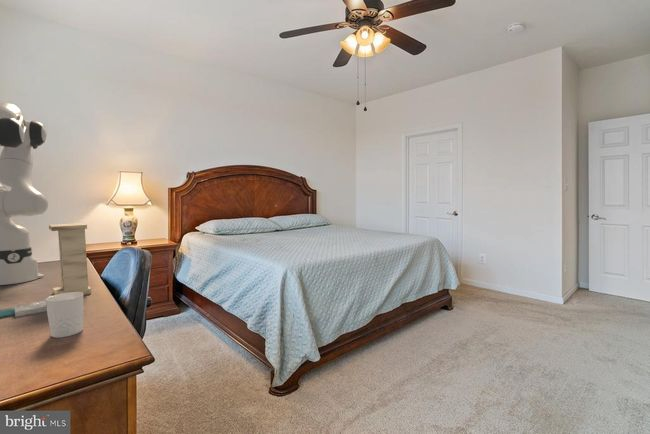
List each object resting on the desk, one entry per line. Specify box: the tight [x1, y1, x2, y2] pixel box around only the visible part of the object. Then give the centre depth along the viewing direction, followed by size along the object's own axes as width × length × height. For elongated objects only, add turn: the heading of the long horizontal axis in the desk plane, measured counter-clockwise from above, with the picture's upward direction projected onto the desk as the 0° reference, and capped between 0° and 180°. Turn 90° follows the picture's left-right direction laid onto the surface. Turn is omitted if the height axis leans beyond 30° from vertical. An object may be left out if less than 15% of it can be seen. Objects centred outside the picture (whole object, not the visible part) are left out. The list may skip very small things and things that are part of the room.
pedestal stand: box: [48, 222, 92, 296], centre depth 123 cm, size 12×10×26 cm
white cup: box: [45, 292, 84, 339], centre depth 87 cm, size 8×8×10 cm
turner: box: [0, 300, 47, 318], centre depth 101 cm, size 20×8×2 cm, turn 135°
